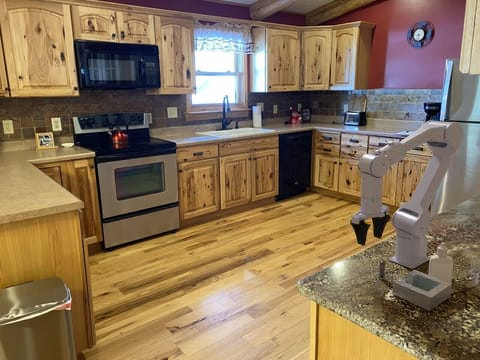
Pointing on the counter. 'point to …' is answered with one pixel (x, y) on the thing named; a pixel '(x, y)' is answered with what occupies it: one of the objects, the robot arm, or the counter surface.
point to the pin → (382, 268)
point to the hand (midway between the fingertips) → (369, 240)
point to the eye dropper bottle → (441, 265)
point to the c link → (427, 300)
